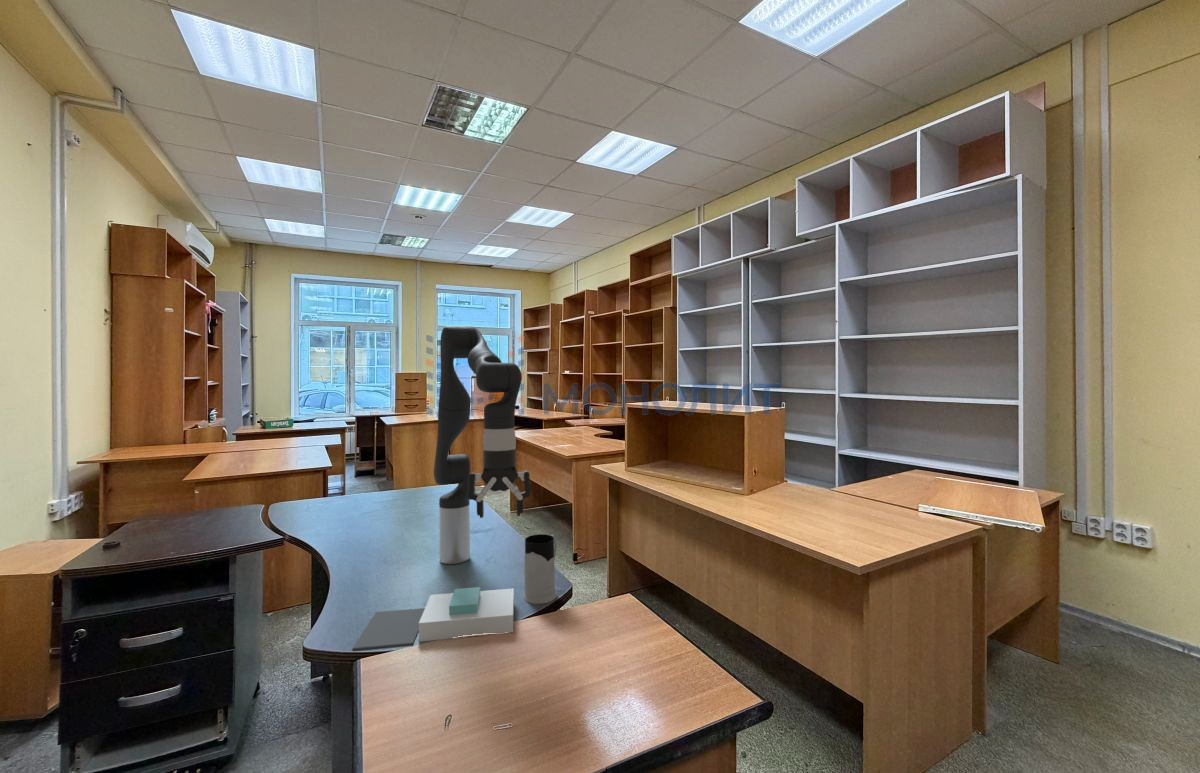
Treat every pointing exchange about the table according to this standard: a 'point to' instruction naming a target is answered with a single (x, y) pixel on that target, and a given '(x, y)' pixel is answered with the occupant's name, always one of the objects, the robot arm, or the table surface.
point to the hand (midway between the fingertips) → (500, 516)
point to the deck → (467, 616)
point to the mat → (390, 629)
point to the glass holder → (540, 568)
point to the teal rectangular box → (464, 601)
